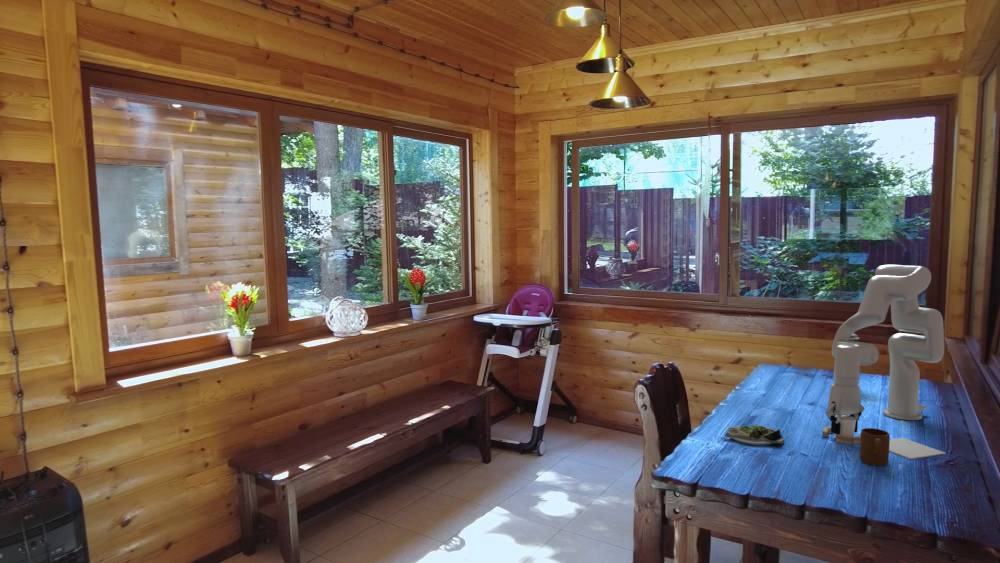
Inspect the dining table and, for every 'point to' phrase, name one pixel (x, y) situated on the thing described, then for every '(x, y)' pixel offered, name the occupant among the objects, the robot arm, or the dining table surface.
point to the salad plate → (755, 435)
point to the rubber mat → (911, 449)
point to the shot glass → (847, 426)
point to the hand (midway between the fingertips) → (844, 431)
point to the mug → (874, 446)
